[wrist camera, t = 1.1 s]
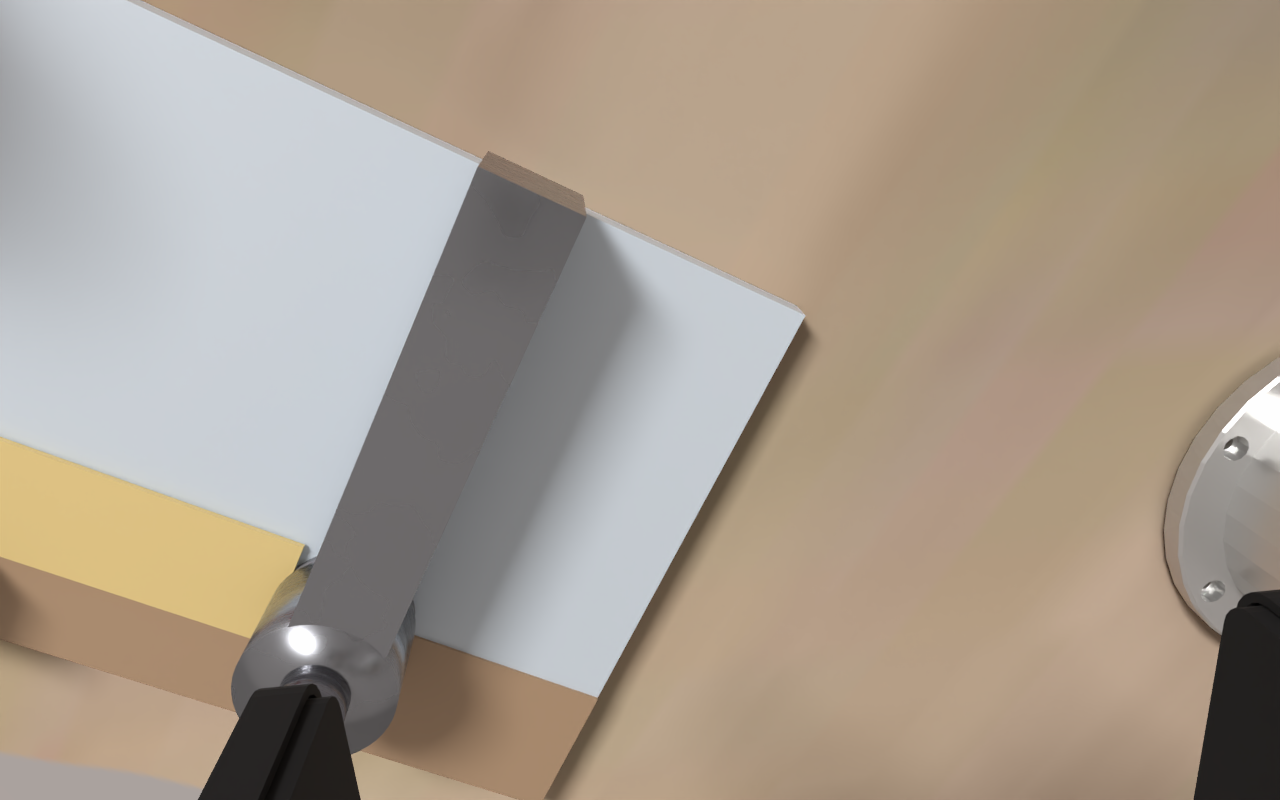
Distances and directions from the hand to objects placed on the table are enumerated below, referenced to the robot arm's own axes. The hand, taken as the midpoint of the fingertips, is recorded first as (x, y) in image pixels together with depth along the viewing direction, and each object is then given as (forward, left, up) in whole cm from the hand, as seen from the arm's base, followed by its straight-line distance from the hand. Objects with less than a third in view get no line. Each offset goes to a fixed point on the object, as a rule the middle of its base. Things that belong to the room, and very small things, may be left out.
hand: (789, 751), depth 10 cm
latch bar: (+4, +7, -19) cm, 20 cm away
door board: (+8, +8, -20) cm, 24 cm away
